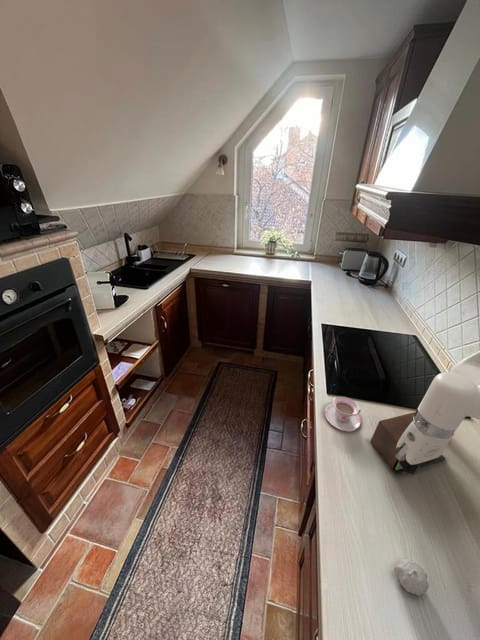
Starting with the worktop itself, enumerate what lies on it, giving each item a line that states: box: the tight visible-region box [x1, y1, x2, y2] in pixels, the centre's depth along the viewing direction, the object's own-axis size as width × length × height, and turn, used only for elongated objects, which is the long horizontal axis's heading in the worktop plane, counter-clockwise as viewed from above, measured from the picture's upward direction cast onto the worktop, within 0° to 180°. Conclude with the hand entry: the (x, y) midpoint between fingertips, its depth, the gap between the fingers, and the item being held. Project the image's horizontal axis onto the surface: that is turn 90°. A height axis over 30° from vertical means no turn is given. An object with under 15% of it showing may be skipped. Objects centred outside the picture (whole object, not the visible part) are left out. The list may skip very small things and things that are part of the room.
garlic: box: [393, 557, 430, 596], centre depth 52 cm, size 6×5×5 cm
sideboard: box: [370, 411, 455, 476], centre depth 76 cm, size 11×18×10 cm, turn 105°
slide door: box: [395, 462, 420, 476], centre depth 70 cm, size 4×9×8 cm, turn 105°
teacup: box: [323, 396, 362, 433], centre depth 87 cm, size 12×12×6 cm
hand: (405, 467), depth 67 cm, fingers closed
